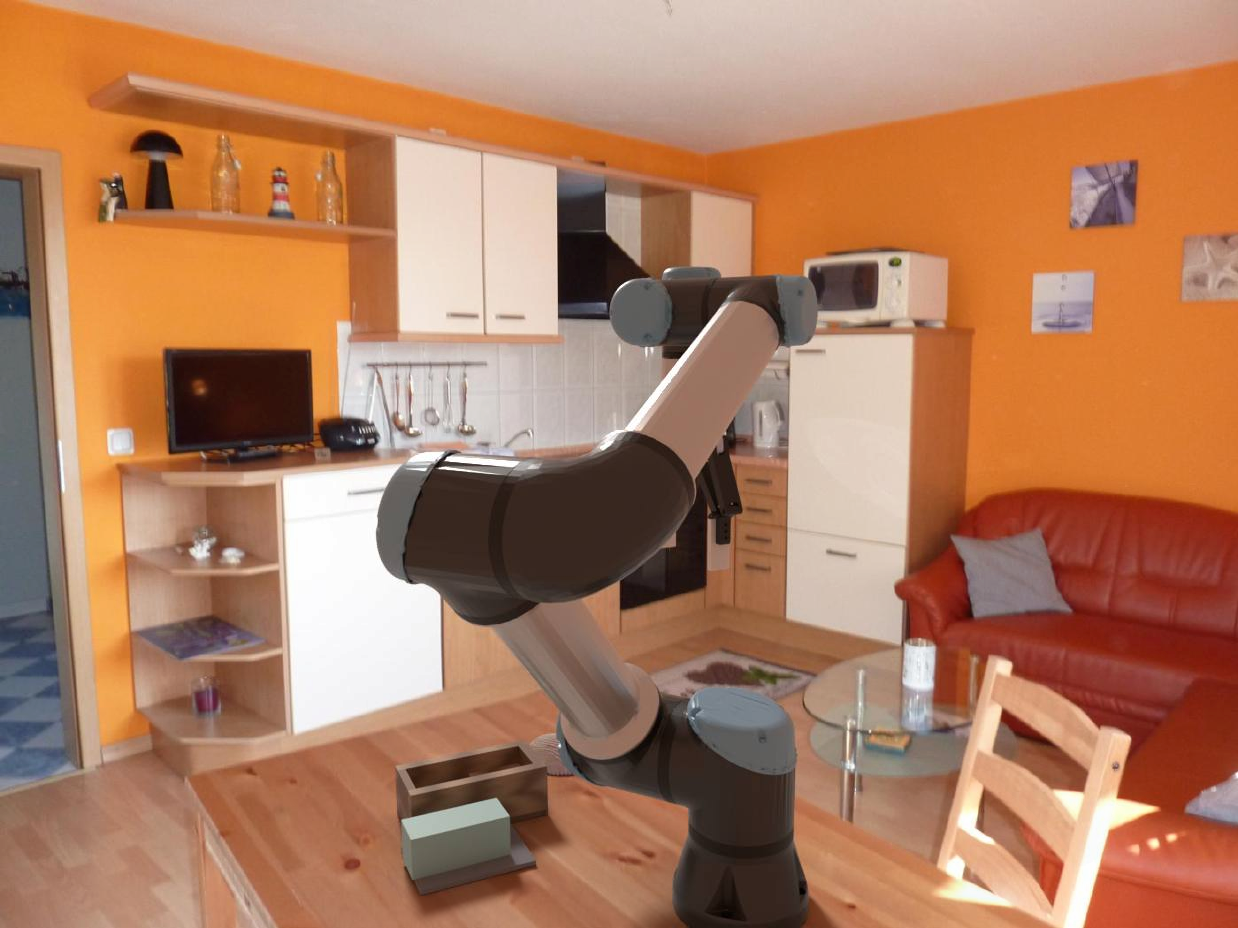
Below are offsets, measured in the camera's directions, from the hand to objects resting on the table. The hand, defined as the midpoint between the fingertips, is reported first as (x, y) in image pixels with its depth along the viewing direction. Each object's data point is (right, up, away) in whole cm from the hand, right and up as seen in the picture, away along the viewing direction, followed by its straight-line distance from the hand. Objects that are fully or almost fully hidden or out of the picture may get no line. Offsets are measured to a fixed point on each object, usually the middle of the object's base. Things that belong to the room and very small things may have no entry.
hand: (690, 557), depth 119 cm
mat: (-28, -36, -6) cm, 46 cm away
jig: (-28, -35, +4) cm, 45 cm away
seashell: (-18, -33, +20) cm, 43 cm away
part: (-29, -36, -7) cm, 46 cm away
